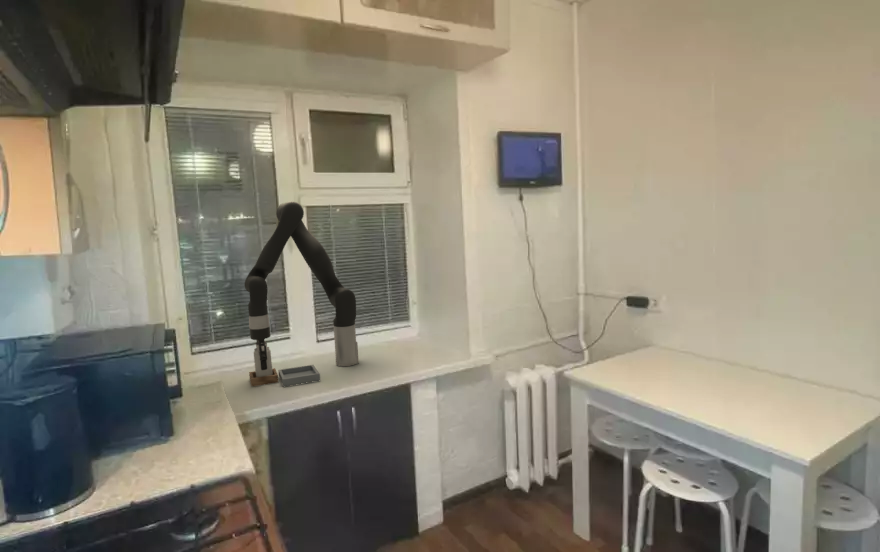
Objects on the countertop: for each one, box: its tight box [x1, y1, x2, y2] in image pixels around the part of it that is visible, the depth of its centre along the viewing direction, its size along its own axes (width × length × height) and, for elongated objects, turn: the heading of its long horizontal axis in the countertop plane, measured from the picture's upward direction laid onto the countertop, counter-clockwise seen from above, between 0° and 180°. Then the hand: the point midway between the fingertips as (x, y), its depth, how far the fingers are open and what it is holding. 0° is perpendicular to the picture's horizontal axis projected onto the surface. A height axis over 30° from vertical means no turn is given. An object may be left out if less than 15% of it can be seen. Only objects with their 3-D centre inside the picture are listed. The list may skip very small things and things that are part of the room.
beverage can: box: [253, 346, 273, 377], centre depth 204 cm, size 6×6×12 cm
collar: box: [248, 367, 279, 387], centre depth 204 cm, size 10×10×3 cm
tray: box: [278, 364, 321, 388], centre depth 205 cm, size 14×14×3 cm
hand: (263, 367), depth 204 cm, fingers closed on beverage can, 5 cm apart
